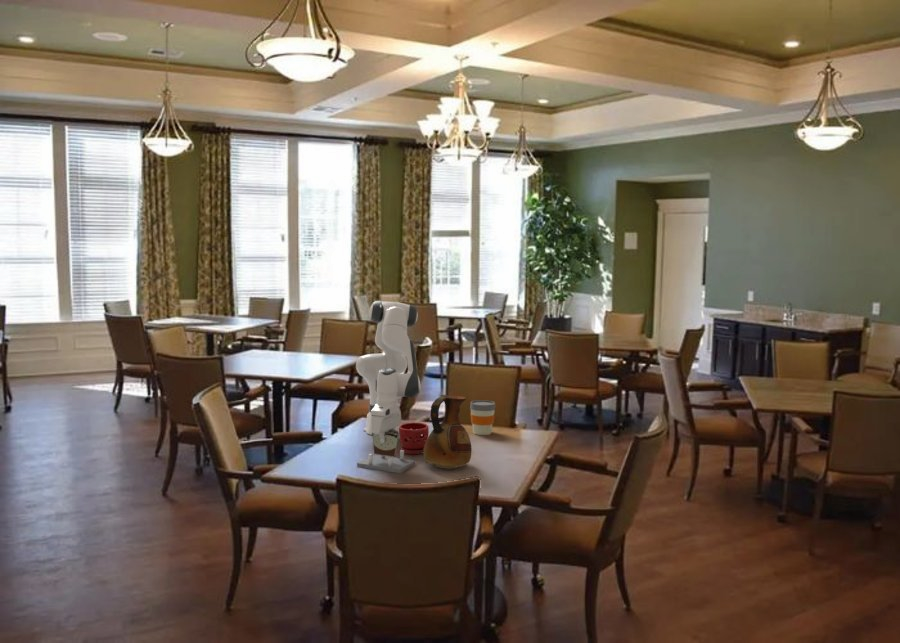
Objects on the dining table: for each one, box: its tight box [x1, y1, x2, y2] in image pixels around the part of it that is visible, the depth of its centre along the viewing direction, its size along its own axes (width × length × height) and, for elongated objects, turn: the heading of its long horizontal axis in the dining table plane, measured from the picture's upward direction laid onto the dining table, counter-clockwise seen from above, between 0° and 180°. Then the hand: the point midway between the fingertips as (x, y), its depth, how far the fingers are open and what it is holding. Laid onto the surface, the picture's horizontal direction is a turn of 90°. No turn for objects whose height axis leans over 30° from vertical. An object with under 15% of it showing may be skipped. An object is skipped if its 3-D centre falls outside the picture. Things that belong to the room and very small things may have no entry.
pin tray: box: [356, 449, 416, 474], centre depth 323 cm, size 14×20×6 cm
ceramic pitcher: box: [423, 394, 473, 470], centre depth 323 cm, size 20×20×30 cm
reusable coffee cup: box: [469, 399, 496, 436], centre depth 382 cm, size 13×13×15 cm
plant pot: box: [399, 422, 430, 455], centre depth 345 cm, size 13×13×12 cm
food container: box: [371, 429, 400, 458], centre depth 323 cm, size 12×6×10 cm, turn 73°
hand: (386, 440), depth 323 cm, fingers closed on food container, 5 cm apart
